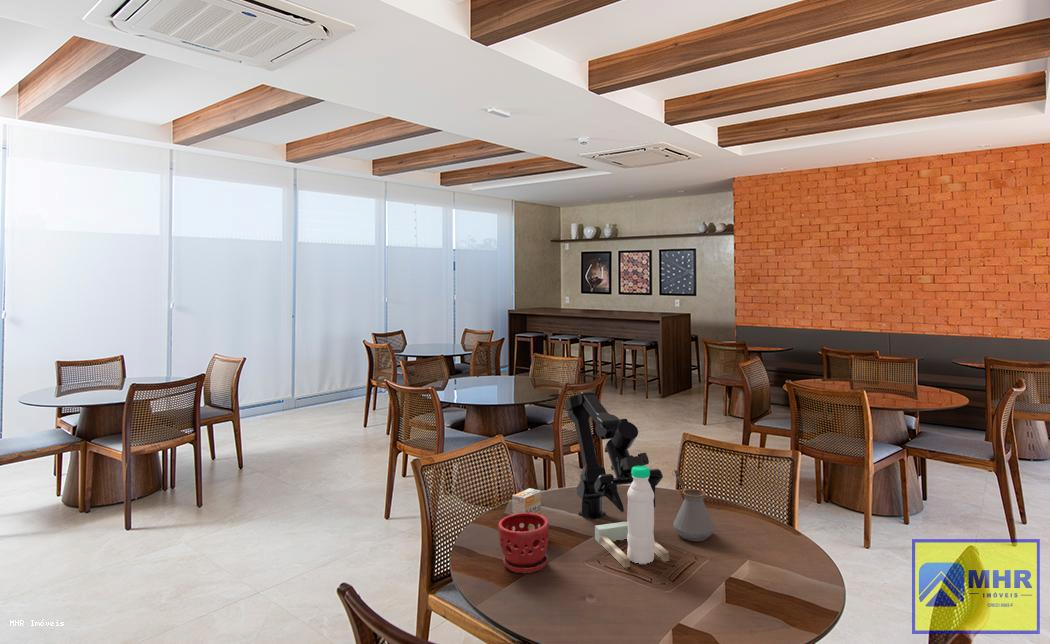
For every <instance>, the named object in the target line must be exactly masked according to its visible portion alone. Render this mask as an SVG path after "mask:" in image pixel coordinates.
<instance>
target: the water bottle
mask: <svg viewBox="0 0 1050 644" xmlns="http://www.w3.org/2000/svg"><path fill="white" fill-rule="evenodd" d="M631 473H632V477H633V482H632V483H631V484H630V486H629V488H628V490H627V492H626V493H627V495H626V496H627V497H626V498H627V509H626V510H627V513H626V514H627V516H626V517H627V518H626V520H627V524H628V535H627V540H626V541H627V549H626V550H627V554H626V556H627V557H629V558H630V562H631V561H632V562H631V563H633V562H634V563H633V564H636V563H639V564H638V565H648V564H647V563H649V564H651V563H653V561H654V559H655V554H654V540H655V535H654V532H655V508H654V502H653V500H654V492H653V490H652V488H651V485H650V483H649V482H648V478H649V476H650V468H649V467H648V466H647V465H644V466H640V465H638V466H634V467H633V468H632V471H631ZM650 562H651V563H650Z"/></svg>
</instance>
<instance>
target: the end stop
mask: <svg viewBox="0 0 1050 644" xmlns="http://www.w3.org/2000/svg"><path fill="white" fill-rule="evenodd" d="M602 534H604V535H605V536H606V537H608V538H609V539H610V540H611V541H613V542H617V541H616V540H620V541H625V540H624V539H627V535H628V524H627V521H621V522H620V521H619V522H613V523H605V524H598V525H594V540H595V541H596V542H597V543H598V544H599V535H602Z"/></svg>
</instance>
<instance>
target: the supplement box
mask: <svg viewBox="0 0 1050 644" xmlns="http://www.w3.org/2000/svg"><path fill="white" fill-rule="evenodd" d="M511 500H512V515H513V514H518V513H534V514H539V515H542V491H541V490H539V489H535V488H530V487H529V488H527V489H524V490H522V491H519V492H517V493H514V494H512V499H511ZM519 526H520V527H521V528H522V527H524V524H523V523H521V524H520V525H519ZM538 527H539V528H540V527H541V526H540V524H538ZM528 529H529V530H530V531H532V530H535V527H534V525H533V524H529V525H528ZM514 530H515V527H514V526H513V527H512V531H514ZM517 532H519V531H517Z"/></svg>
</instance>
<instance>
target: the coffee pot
mask: <svg viewBox="0 0 1050 644" xmlns="http://www.w3.org/2000/svg"><path fill="white" fill-rule="evenodd" d="M673 472H674V474H673ZM671 475H672V476H674V475H675V477H676V478H677V481H678V483H679V485H680V487H681V488H682V495H684V496H683V497H684V499H683V501H682V504H681V505H680V508H679V510H678V513H677V515H676V517H675V518H674V522H673V528H674V530H675V532H676V533H677V534H678V535H679V536H680V537H681V538H682V539H684V540H687V541H690V542H702V541H705V540H707V539H708V538H710V537H711V536H712V534H713V533H714V531H715V525H714V523H713V520H712V519H711V516H710V514H709V511H708V509H707V506H706V504H705V501H704V497H705V496H706V493H707V492H706V491H704V490H702V489H698V488H697V489H696V488H688V489H687V488H686V485H685V483H684V480H683V478H681V475H680V472H679V471H678V470H676V469H674V470H672V472H671Z"/></svg>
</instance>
